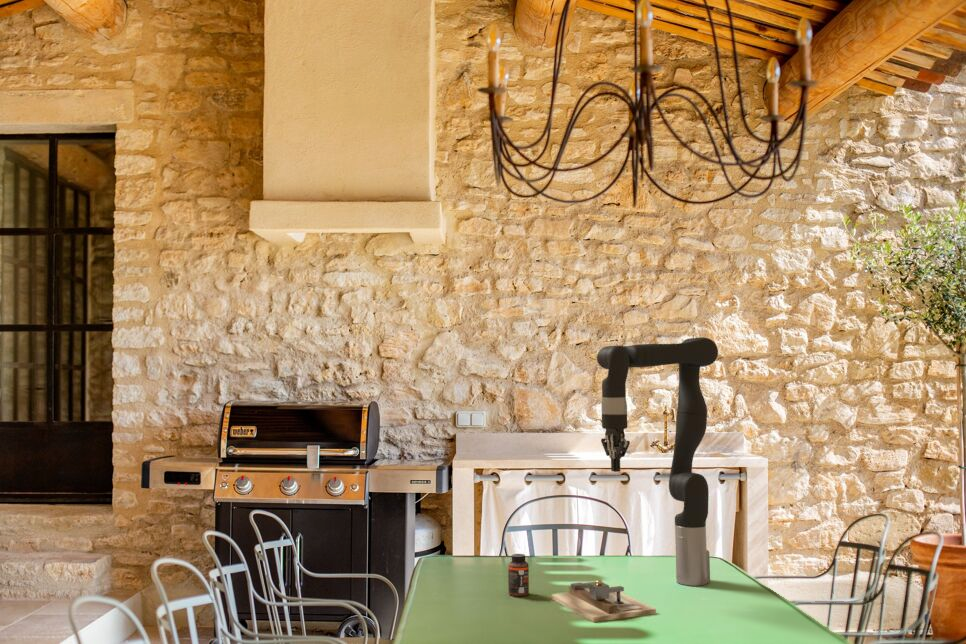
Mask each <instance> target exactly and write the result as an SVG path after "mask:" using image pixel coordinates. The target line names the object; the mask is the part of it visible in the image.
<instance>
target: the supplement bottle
mask: <svg viewBox="0 0 966 644" xmlns="http://www.w3.org/2000/svg"><path fill="white" fill-rule="evenodd" d="M510 558H511V560H510V562H509V563H508V566H507V567H508V568H507V569H508V573H507V574H508V576H507V577H508V581H507V582H508V583H507V584H508V594H509V595H510V596H511V597H518V598H519V597H520V598H521V597H526V596H528V595H529V594H530V591H529V590H530V588H529V587H530V586H529V585H530V582H529V581H530V575H529V573H530V570H529V563H528V562H527V561H526V555H525V554H524V553H514V554H512V555H511V557H510Z"/></svg>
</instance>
